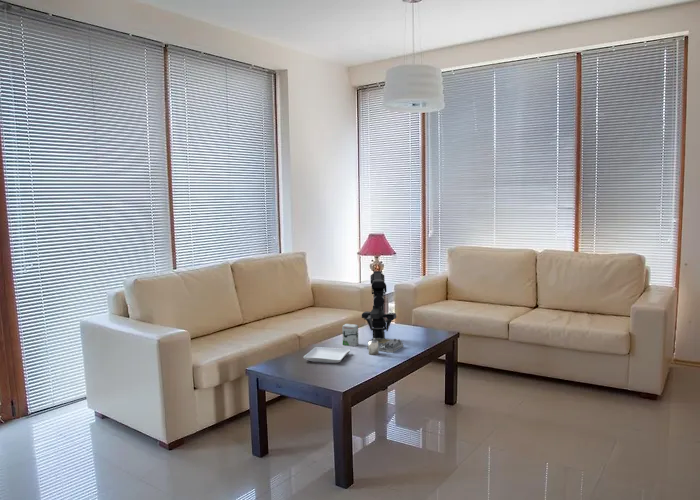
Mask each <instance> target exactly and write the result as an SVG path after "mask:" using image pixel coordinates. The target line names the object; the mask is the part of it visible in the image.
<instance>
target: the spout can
mask: <svg viewBox="0 0 700 500" xmlns="http://www.w3.org/2000/svg"><path fill="white" fill-rule="evenodd" d="M372 339H373V340H372ZM372 339H370V340H368V342H367V343H368V345H367V346H368V349H367V351H368V355H370V356H378V355H379V351H378V341H377V340H376V338H373V337H372Z"/></svg>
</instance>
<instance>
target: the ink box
mask: <svg viewBox="0 0 700 500" xmlns="http://www.w3.org/2000/svg"><path fill="white" fill-rule="evenodd" d="M341 329H342V345H343V346H352V347H357V346H358V345H359V325H358V324H355V323H354V324H353V323H352V324H351V323H345V324H343V325H342V328H341Z"/></svg>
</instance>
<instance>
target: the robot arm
mask: <svg viewBox="0 0 700 500" xmlns="http://www.w3.org/2000/svg"><path fill="white" fill-rule="evenodd" d="M370 285H371V295H372V296H373V306H372V309H371V310H370V311H364V312H362V313H361V318H362V319H363V320H365V321H366V322H367V324H368V328H369V329H370V331H372V338H371V340H373V338H383V339H386V336H385V333H386V332H389V329H390V325H391V323H392V322H393V321H394V320H396V319H397V314H396V313H395V312H389V313H385V295H386V294H387V284H386V282H385V274H383V273H382V271H380V270H374V271H373V272H372V274H370ZM384 318H386V320H385V319H384ZM385 331H386V332H385Z"/></svg>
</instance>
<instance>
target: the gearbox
mask: <svg viewBox="0 0 700 500" xmlns="http://www.w3.org/2000/svg"><path fill="white" fill-rule="evenodd" d="M376 340H377V341H378V352H383V353H392V354H393V353H395V352H396V351H398V350H400V349H401V348H403V347H404V343H403V341H402V339H398V338H397V339H396V338H393V339H391V338H385V339H383V338H376ZM366 347H367V350H368V345H367V346H366Z"/></svg>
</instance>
